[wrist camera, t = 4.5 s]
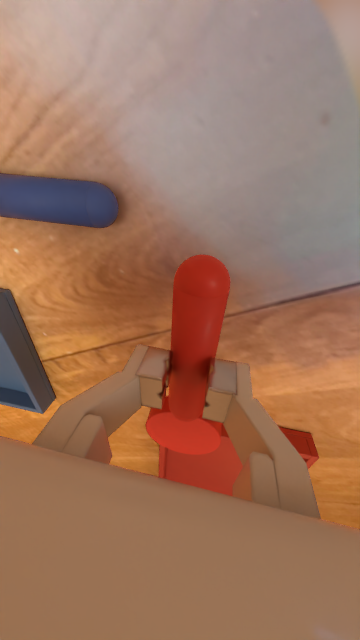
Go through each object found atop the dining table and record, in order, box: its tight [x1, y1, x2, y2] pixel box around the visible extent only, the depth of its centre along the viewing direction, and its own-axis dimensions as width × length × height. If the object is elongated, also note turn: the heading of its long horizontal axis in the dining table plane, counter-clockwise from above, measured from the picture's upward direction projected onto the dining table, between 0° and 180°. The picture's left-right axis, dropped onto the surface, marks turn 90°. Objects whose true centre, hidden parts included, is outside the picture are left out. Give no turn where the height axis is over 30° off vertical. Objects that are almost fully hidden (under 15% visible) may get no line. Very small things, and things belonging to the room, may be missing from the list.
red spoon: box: [146, 255, 231, 455], centre depth 11 cm, size 14×5×2 cm, turn 176°
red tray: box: [159, 423, 319, 496], centre depth 24 cm, size 13×18×2 cm
